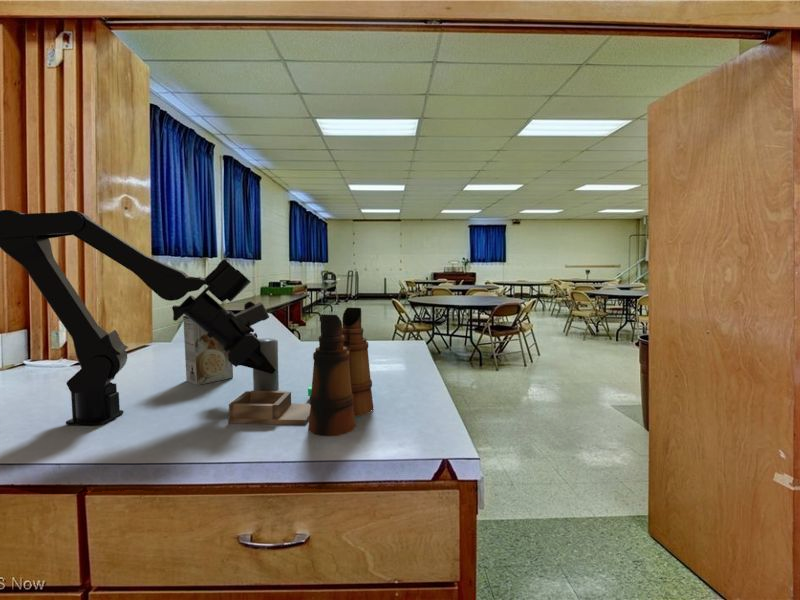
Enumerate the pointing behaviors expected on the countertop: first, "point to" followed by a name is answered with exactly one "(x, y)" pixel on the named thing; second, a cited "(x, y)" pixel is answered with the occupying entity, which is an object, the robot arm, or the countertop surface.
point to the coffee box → (204, 356)
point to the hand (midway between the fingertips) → (272, 369)
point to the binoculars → (340, 375)
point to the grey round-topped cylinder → (264, 379)
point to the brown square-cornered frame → (267, 409)
